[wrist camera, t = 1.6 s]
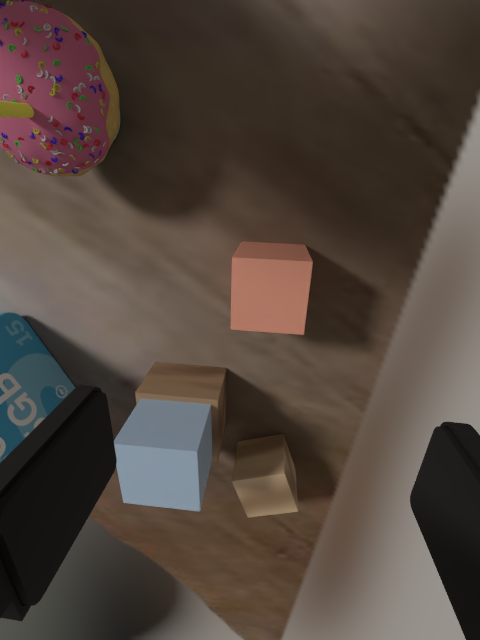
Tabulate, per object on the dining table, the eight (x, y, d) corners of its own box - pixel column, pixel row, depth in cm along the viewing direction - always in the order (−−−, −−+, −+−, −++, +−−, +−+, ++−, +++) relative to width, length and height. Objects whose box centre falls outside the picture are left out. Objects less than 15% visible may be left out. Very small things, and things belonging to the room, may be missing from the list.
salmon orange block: (241, 241, 25) (232, 257, 20) (304, 244, 25) (313, 261, 19) (239, 300, 27) (230, 329, 22) (298, 303, 27) (303, 334, 21)
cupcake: (164, 150, 23) (64, 120, 12) (72, 196, 25) (-86, 205, 14) (105, 10, 20) (-97, -194, 9) (6, 74, 22) (-256, -32, 11)
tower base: (155, 361, 31) (135, 392, 26) (226, 367, 30) (218, 400, 26) (160, 417, 33) (142, 454, 29) (225, 424, 33) (217, 463, 28)
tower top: (140, 398, 26) (112, 443, 22) (211, 404, 26) (197, 451, 21) (147, 452, 29) (123, 502, 24) (212, 458, 28) (200, 511, 24)
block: (237, 440, 34) (231, 481, 29) (283, 432, 32) (284, 473, 28) (251, 474, 35) (247, 517, 31) (295, 467, 34) (298, 511, 30)
